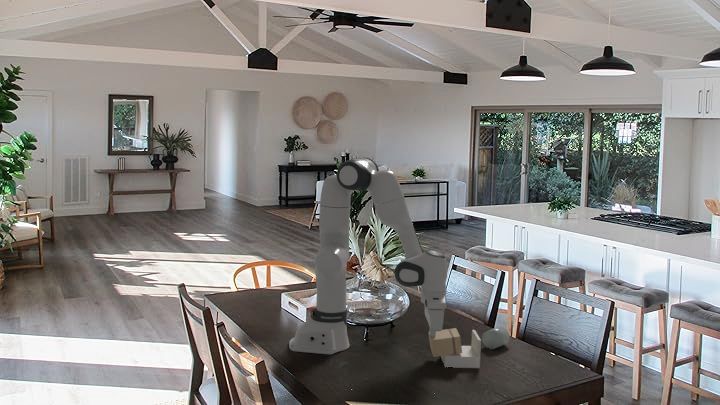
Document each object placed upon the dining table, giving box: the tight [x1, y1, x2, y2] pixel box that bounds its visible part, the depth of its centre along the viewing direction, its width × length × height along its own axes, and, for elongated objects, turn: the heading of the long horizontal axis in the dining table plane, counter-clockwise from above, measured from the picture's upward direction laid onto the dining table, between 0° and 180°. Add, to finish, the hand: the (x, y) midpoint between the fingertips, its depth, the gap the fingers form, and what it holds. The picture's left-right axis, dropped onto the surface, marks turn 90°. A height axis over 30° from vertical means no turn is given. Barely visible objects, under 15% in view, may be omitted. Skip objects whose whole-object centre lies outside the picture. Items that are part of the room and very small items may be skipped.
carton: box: [427, 327, 462, 358], centre depth 230 cm, size 10×9×6 cm
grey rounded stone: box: [481, 325, 511, 350], centre depth 248 cm, size 7×7×8 cm
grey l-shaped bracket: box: [440, 329, 482, 369], centre depth 231 cm, size 12×11×10 cm
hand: (432, 335), depth 230 cm, fingers closed, pressing on carton
